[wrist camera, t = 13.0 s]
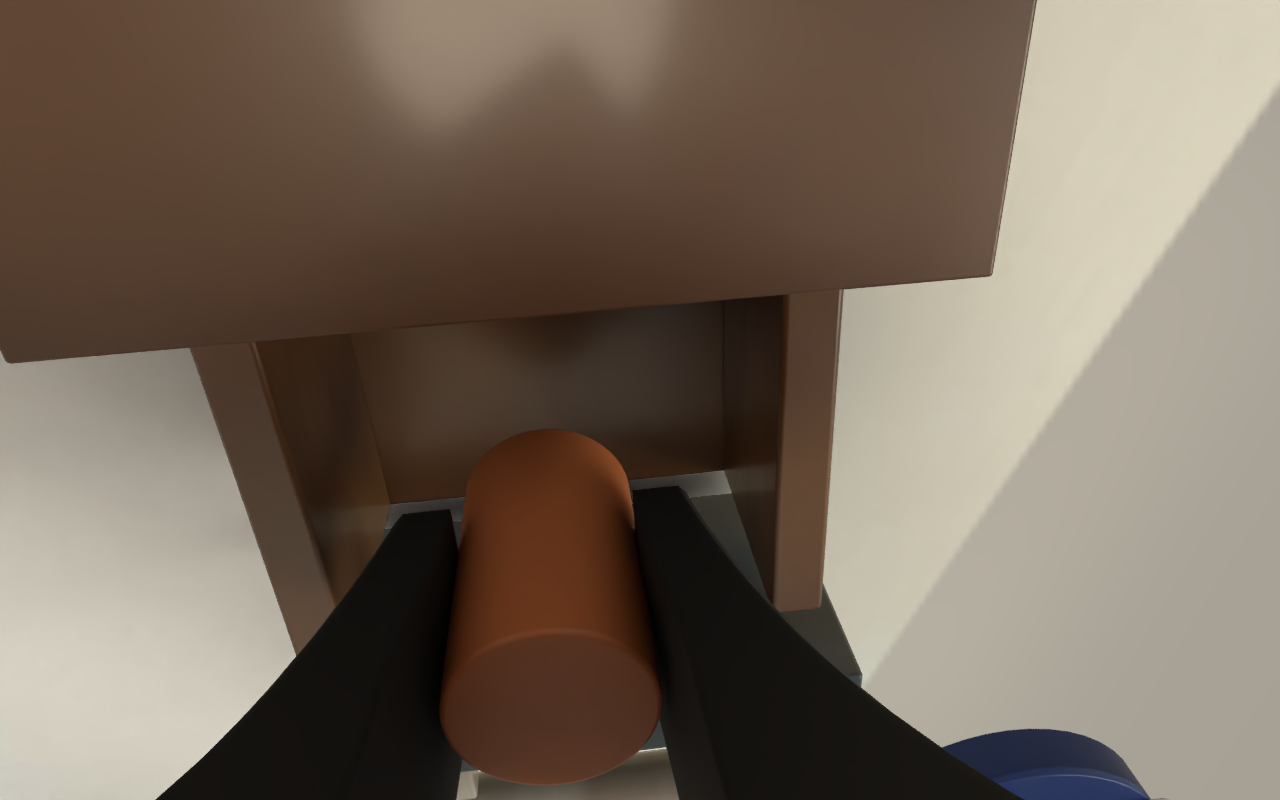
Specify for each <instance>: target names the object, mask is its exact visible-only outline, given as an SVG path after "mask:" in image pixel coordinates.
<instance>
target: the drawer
mask: <svg viewBox="0 0 1280 800" xmlns="http://www.w3.org/2000/svg"><path fill="white" fill-rule="evenodd" d="M843 292H844V289H842V290H831V291H820V292H808V293H797V294H786V295H775V296H763V297H752V298H741V299H730V300H718V301H707V302H696V303H685V304H673V305H662V306H651V307H640V308H628V309H617V310H606V311H595V312H583V313H572V314H561V315H550V316H538V317H527V318H516V319H505V320H493V321H482V322H471V323H460V324H448V325H437V326H426V327H415V328H403V329H392V330H381V331H370V332H358V333H347V334H336V335H325V336H313V337H302V338H291V339H280V340H268V341H257V342H246V343H235V344H223V345H212V346H201V347H190V350H191V352H192V355H193V358H194V361H195V364H196V367H197V370H198V373H199V376H200V378H201V381H202V384H203V387H204V390H205V393H206V396H207V399H208V402H209V404H210V407H211V410H212V413H213V416H214V419H215V422H216V425H217V428H218V430H219V433H220V436H221V439H222V442H223V445H224V448H225V451H226V454H227V456H228V459H229V462H230V465H231V468H232V471H233V474H234V477H235V480H236V482H237V485H238V488H239V491H240V494H241V497H242V500H243V503H244V506H245V508H246V511H247V514H248V517H249V520H250V523H251V526H252V529H253V532H254V534H255V537H256V540H257V543H258V546H259V549H260V552H261V555H262V558H263V560H264V563H265V566H266V569H267V572H268V575H269V578H270V581H271V584H272V586H273V589H274V592H275V595H276V598H277V601H278V604H279V607H280V610H281V612H282V615H283V618H284V621H285V624H286V627H287V630H288V633H289V636H290V638H291V641H292V644H293V647H294V650H295V653H296V656H297V655H298V654H299V653H300V651H301V650H302V649H303V648H304V647H305V645H306V644H307V643H308V642H309V641H310V640H311V638H312V637H313V636H314V635H315V633H316V632H317V631H318V629H319V628H320V627H321V626H322V624H323V623H324V622H325V620H326V619H327V618H328V616H329V615H330V614H331V612H332V611H333V610H334V608H335V607H336V606H337V605H338V603H339V602H340V601H341V599H342V598H343V597H344V595H345V594H346V593H347V591H348V590H349V589H350V587H351V586H352V585H353V583H354V582H355V580H356V579H357V578H358V576H359V575H360V573H361V572H362V571H363V569H364V568H365V566H366V565H367V563H368V562H369V561H370V559H371V558H372V556H373V555H374V553H375V552H376V551H377V549H378V548H379V546H380V545H381V543H382V542H383V540H384V539H385V537H386V536H387V534H388V533H389V532H390V530H391V529H385V526H386V522H387V518H388V514H389V510H390V506H391V504H399V503H409V502H419V501H429V500H439V499H448V498H458V497H465V495H466V488H467V484H468V480H469V478H470V475H471V473H472V471H473V469H474V468H475V466H476V464H477V463H478V462H479V461H480V459H481V458H482V457H483V456H484V455H485V454H486V453H487V452H488V451H489V450H491V449H492V448H493V447H495V446H496V445H497V444H499V443H500V442H502V441H504V440H506V439H508V438H510V437H512V436H515V435H517V434H520V433H524V432H528V431H533V430H540V429H558V430H566V431H571V432H575V433H578V434H581V435H584V436H586V437H588V438H591V439H593V440H594V441H596V442H598V443H599V444H601V445H602V446H604V447H605V448H606V449H607V450H609V451H610V452H611V453H612V454H613V455H614V456H615V458H616V459H617V460H618V461H619V463H620V464H621V466H622V468H623V470H624V472H625V474H626V476H627V479H628V480H634V479H644V478H654V477H664V476H673V475H683V474H693V473H703V472H713V471H722V470H724V472H725V475H726V477H727V480H728V483H729V486H730V489H731V492H732V493H731V494H721V495H712V496H702V497H693V498H690V499H691V501H692V503H693V504H694V506H695V508H696V509H697V511H698V512H699V514H700V515H701V517H702V518H703V520H704V521H705V522H706V524H707V525H708V527H709V528H710V529H711V531H712V532H713V533H714V535H715V536H716V537H717V539H718V540H719V542H720V543H721V544H722V546H723V547H724V548H725V549H726V551H727V552H728V553H729V554H730V556H731V557H732V558H733V559H734V561H735V562H736V563H737V564H738V565H739V567H740V568H741V569H742V570H743V571H744V572H745V574H746V575H747V576H748V577H749V578H750V580H751V581H752V582H753V583H754V584H755V585H756V587H757V588H758V589H759V590H760V591H761V592H762V593H763V595H764V596H765V597H766V598H767V599H768V600H769V601H770V602H771V603H772V604H773V605H774V607H775V608H776V609H777V610H778V611H779V612H780V613H781V614H782V615H783V616H784V617H785V618H786V619H787V620H788V621H789V622H790V623H791V624H792V625H793V626H794V627H795V628H796V629H797V630H798V631H799V632H800V633H801V634H802V635H803V636H804V637H805V638H806V639H807V640H808V641H809V642H810V643H811V644H812V645H813V646H814V647H815V648H816V649H817V650H819V651H820V652H821V653H822V654H823V655H824V656H825V657H826V658H827V659H828V660H830V661H831V662H832V663H833V664H834V665H835V666H836V667H838V668H839V669H840V670H841V671H842V672H843V673H844V674H846V675H847V676H848V677H849V678H850V679H851V680H852V681H854V682H855V683H856V684H857V685H859V686H860V687H861V683H862V673H861V670H860V668H859V666H858V663H857V661H856V659H855V656H854V654H853V652H852V650H851V647H850V645H849V643H848V640H847V638H846V636H845V633H844V631H843V629H842V626H841V624H840V622H839V619H838V617H837V615H836V612H835V610H834V608H833V606H832V603H831V601H830V599H829V596H828V594H827V592H826V589H825V587H824V585H823V571H824V557H825V543H826V529H827V515H828V501H829V487H830V473H831V459H832V445H833V431H834V417H835V403H836V389H837V376H838V362H839V348H840V334H841V320H842V306H843ZM632 507H633V504H632ZM633 513H634V508H633ZM453 526H454V531H455V536H456V541H457V546H458V550H459V542H460V534H461V526H462V522H453ZM663 747H666V743H665V739H664V735H663V731H662V727H661V723H660V719H659V721H658V724H657V726H656V729H655V731H654V732H653V734H652V736H651V737H650V739H649V740H648V741H647V743H646V744H645V745H644V746H643V747H642V748H641V749H640V750H647V749H655V748H663ZM456 800H679V797H678V793H677V789H676V784H675V780H674V776H673V772H672V768H671V764H670V760H669V756H668V752H667V749H660V750H652V751H644V752H637V753H636V754H635V755H634V756H633V757H631V758H630V759H629V760H627V761H626V762H624V763H623V764H621V765H619V766H618V767H616V768H614V769H612V770H610V771H608V772H606V773H604V774H601V775H599V776H596V777H593V778H590V779H587V780H583V781H579V782H574V783H568V784H561V785H526V784H519V783H513V782H508V781H505V780H501V779H498V778H495V777H493V776H490V775H488V774H485V773H483V772H478V769H476V768H474V767H473V766H471V765H470V764H468V763H467V762H466V761H464V760H463V759H462V766H461V772H460V779H459V786H458V792H457V799H456Z"/></svg>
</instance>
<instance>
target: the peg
mask: <svg viewBox="0 0 1280 800" xmlns="http://www.w3.org/2000/svg"><path fill="white" fill-rule="evenodd" d="M662 707H663V692H662V686H661V680H660V673H659V667H658V661H657V655H656V649H655V643H654V636H653V630H652V624H651V618H650V612H649V607H648V602H647V597H646V593H645V588H644V584H643V578H642V572H641V565H640V559H639V553H638V547H637V540H636V534H635V522H634V513H633V507H632V501H631V495H630V489H629V483H628V479H627V476H626V474H625V472H624V470H623V468H622V466H621V464H620V463H619V461H618V460H617V459H616V458H615V456H614V455H613V454H612V453H611V452H610V451H609V450H607V449H606V448H605V447H604V446H602V445H601V444H599V443H598V442H596V441H594V440H593V439H591V438H588V437H586V436H584V435H581V434H578V433H575V432H571V431H566V430H558V429H540V430H533V431H528V432H524V433H520V434H517V435H515V436H512V437H510V438H508V439H506V440H504V441H502V442H500V443H499V444H497V445H496V446H495V447H493V448H492V449H491V450H489V451H488V452H487V453H486V454H485V455H484V456H483V457H482V458H481V459H480V461H479V462H478V463H477V464H476V466H475V468H474V469H473V471H472V473H471V475H470V478H469V480H468V484H467V488H466V495H465V503H464V510H463V518H462V526H461V534H460V542H459V550H458V558H457V566H456V574H455V582H454V590H453V598H452V606H451V614H450V622H449V630H448V637H447V645H446V653H445V661H444V669H443V677H442V685H441V693H440V701H439V717H440V723H441V726H442V729H443V732H444V734H445V737H446V738H447V740H448V742H449V744H450V746H451V747H452V748H453V749H454V750H455V752H456V753H457V754H458V755H459V756H460V757H461V758H462V759H463V760H464V761H466V762H467V763H468V764H470V765H471V766H473V767H474V768H476V769H478V770H480V771H481V772H483V773H485V774H488V775H490V776H493V777H495V778H498V779H501V780H505V781H508V782H513V783H519V784H526V785H561V784H568V783H574V782H579V781H583V780H587V779H590V778H593V777H596V776H599V775H601V774H604V773H606V772H608V771H610V770H612V769H614V768H616V767H618V766H619V765H621V764H623V763H624V762H626V761H627V760H629V759H630V758H631V757H633V756H634V755H635V754H636V753H637V752H638V751H639V750H640V749H641V748H642V747H643V746H644V745H645V744H646V743H647V741H648V740H649V739H650V737H651V736H652V734H653V732H654V731H655V729H656V726H657V724H658V721H659V719H660V716H661V711H662Z"/></svg>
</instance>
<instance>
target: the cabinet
mask: <svg viewBox="0 0 1280 800" xmlns="http://www.w3.org/2000/svg"><path fill="white" fill-rule="evenodd" d="M1036 2H1037V0H0V350H1V352H2V354H3V357H4V359H5V361H6V362H7V363H21V362H32V361H43V360H55V359H66V358H77V357H88V356H100V355H111V354H122V353H133V352H145V351H156V350H167V349H178V348H190V347H201V346H212V345H223V344H235V343H246V342H257V341H268V340H280V339H291V338H302V337H313V336H325V335H336V334H347V333H358V332H370V331H381V330H392V329H403V328H415V327H426V326H437V325H448V324H460V323H471V322H482V321H493V320H505V319H516V318H527V317H538V316H550V315H561V314H572V313H583V312H595V311H606V310H617V309H628V308H640V307H651V306H662V305H673V304H685V303H696V302H707V301H718V300H730V299H741V298H752V297H763V296H775V295H786V294H797V293H808V292H820V291H831V290H842V289H853V288H865V287H876V286H887V285H898V284H910V283H921V282H932V281H943V280H955V279H966V278H977V277H988V276H991V275H992V273H993V267H994V261H995V255H996V248H997V242H998V236H999V230H1000V224H1001V218H1002V212H1003V205H1004V199H1005V193H1006V187H1007V181H1008V175H1009V168H1010V162H1011V156H1012V150H1013V144H1014V138H1015V131H1016V125H1017V119H1018V113H1019V107H1020V101H1021V94H1022V88H1023V82H1024V76H1025V70H1026V64H1027V58H1028V51H1029V45H1030V39H1031V33H1032V27H1033V21H1034V14H1035V8H1036Z"/></svg>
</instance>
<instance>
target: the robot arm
mask: <svg viewBox="0 0 1280 800" xmlns="http://www.w3.org/2000/svg"><path fill="white" fill-rule="evenodd" d="M632 493H633V508H634V522H635V534H636V540H637V547H638V553H639V559H640V565H641V572H642V578H643V584H644V588H645V593H646V597H647V602H648V607H649V612H650V618H651V624H652V630H653V636H654V643H655V649H656V655H657V661H658V667H659V673H660V680H661V686H662V692H663V707H662V711H661V716H660V723H661V727H662V731H663V735H664V739H665V743H666V747H667V752H668V756H669V760H670V764H671V768H672V772H673V776H674V780H675V784H676V789H677V793H678V797H679V800H1024V799H1022V798H1020V797H1018V796H1016V795H1015V794H1013V793H1011V792H1010V791H1008V790H1006V789H1005V788H1003V787H1001V786H1000V785H998V784H997V783H995V782H994V781H992V780H990V779H989V778H987V777H986V776H984V775H982V774H981V773H979V772H978V771H976V770H974V769H973V768H971V767H970V766H968V765H966V764H965V763H963V762H962V761H960V760H958V759H957V758H955V757H954V756H953V755H951V754H950V753H948V752H947V751H945V750H944V749H943V748H941V747H940V746H938V745H937V744H936V743H934V742H933V741H931V740H930V739H929V738H927V737H926V736H924V735H923V734H921V733H920V732H919V731H917V730H916V729H915V728H913V727H912V726H910V725H909V724H908V723H906V722H905V721H903V720H902V719H900V718H899V717H898V716H896V715H895V714H893V713H892V712H891V711H889V710H888V709H887V708H886V707H884V706H883V705H882V704H881V703H879V702H878V701H877V700H876V699H875V698H873V697H872V696H871V695H870V694H868V693H867V692H866V691H865V690H863V689H862V688H861V687H860V686H859V685H857V684H856V683H855V682H854V681H852V680H851V679H850V678H849V677H848V676H847V675H846V674H844V673H843V672H842V671H841V670H840V669H839V668H838V667H836V666H835V665H834V664H833V663H832V662H831V661H830V660H828V659H827V658H826V657H825V656H824V655H823V654H822V653H821V652H820V651H819V650H817V649H816V648H815V647H814V646H813V645H812V644H811V643H810V642H809V641H808V640H807V639H806V638H805V637H804V636H803V635H802V634H801V633H800V632H799V631H798V630H797V629H796V628H795V627H794V626H793V625H792V624H791V623H790V622H789V621H788V620H787V619H786V618H785V617H784V616H783V615H782V614H781V613H780V612H779V611H778V610H777V609H776V608H775V607H774V605H773V604H772V603H771V602H770V601H769V600H768V599H767V598H766V597H765V596H764V595H763V593H762V592H761V591H760V590H759V589H758V588H757V587H756V585H755V584H754V583H753V582H752V581H751V580H750V578H749V577H748V576H747V575H746V574H745V572H744V571H743V570H742V569H741V568H740V567H739V565H738V564H737V563H736V562H735V561H734V559H733V558H732V557H731V556H730V554H729V553H728V552H727V551H726V549H725V548H724V547H723V546H722V544H721V543H720V542H719V540H718V539H717V537H716V536H715V535H714V533H713V532H712V531H711V529H710V528H709V527H708V525H707V524H706V522H705V521H704V520H703V518H702V517H701V515H700V514H699V512H698V511H697V509H696V508H695V506H694V504H693V503H692V501H691V499H690V498H689V496H688V494H687V492H685V491H684V490H683V489H682V488H680V487H679V486H670V487H660V488H650V489H641V490H632ZM457 558H458V546H457V541H456V536H455V531H454V526H453V521H452V516H451V511H450V509H447V510H437V511H428V512H418V513H408V514H403V515H402V516H401V517H400V518H399V519H398V520H397V522H396V523H395V524H394V526H393V527H392V529H391V530H390V532H389V533H388V534H387V536H386V537H385V539H384V540H383V542H382V543H381V545H380V546H379V548H378V549H377V551H376V552H375V553H374V555H373V556H372V558H371V559H370V561H369V562H368V563H367V565H366V566H365V568H364V569H363V571H362V572H361V573H360V575H359V576H358V578H357V579H356V580H355V582H354V583H353V585H352V586H351V587H350V589H349V590H348V591H347V593H346V594H345V595H344V597H343V598H342V599H341V601H340V602H339V603H338V605H337V606H336V607H335V608H334V610H333V611H332V612H331V614H330V615H329V616H328V618H327V619H326V620H325V622H324V623H323V624H322V626H321V627H320V628H319V629H318V631H317V632H316V633H315V635H314V636H313V637H312V638H311V640H310V641H309V642H308V643H307V644H306V645H305V647H304V648H303V649H302V650H301V651H300V653H299V654H298V655H297V656H296V657H295V659H294V660H293V661H292V662H291V663H290V664H289V666H288V667H287V668H286V669H285V670H284V672H283V673H282V674H281V675H280V676H279V678H278V679H277V680H276V681H275V682H274V683H273V685H272V686H271V687H270V688H269V689H268V690H267V691H266V692H265V694H264V695H263V696H262V697H261V698H260V699H259V700H258V701H257V702H256V703H255V705H254V706H253V707H252V708H251V709H250V710H249V711H248V712H247V713H246V714H245V715H244V716H243V717H242V718H241V719H240V721H239V722H238V723H237V724H236V725H235V726H234V727H233V728H232V729H231V730H230V731H229V732H228V733H227V734H226V735H225V736H224V737H223V738H222V739H221V740H220V741H219V742H218V743H217V744H216V745H215V746H214V747H213V748H212V749H211V750H210V751H209V752H208V753H207V754H206V755H205V756H204V757H203V758H202V759H201V760H200V761H198V762H197V763H196V764H195V765H194V766H193V767H192V768H191V769H190V770H189V771H187V772H186V773H185V774H184V775H183V776H182V777H181V778H180V779H178V780H177V781H176V782H175V783H174V784H173V785H172V786H170V787H169V788H168V789H167V790H166V791H165V792H164V793H163V794H161V795H160V796H159V797H158V798H157V799H156V800H456V799H457V792H458V786H459V779H460V772H461V766H462V758H461V757H460V756H459V755H458V754H457V753H456V752H455V750H454V749H453V748H452V747H451V746H450V744H449V742H448V740H447V738H446V737H445V734H444V732H443V729H442V726H441V723H440V717H439V701H440V693H441V685H442V677H443V669H444V661H445V653H446V645H447V637H448V630H449V622H450V614H451V606H452V598H453V590H454V582H455V574H456V566H457ZM1151 800H1169V799H1166V798H1160V799H1151Z"/></svg>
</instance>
